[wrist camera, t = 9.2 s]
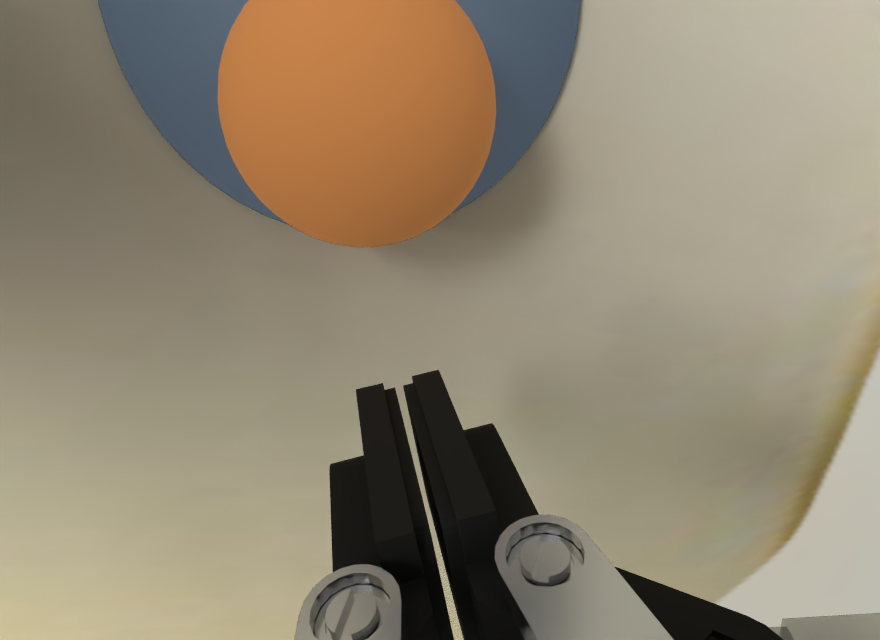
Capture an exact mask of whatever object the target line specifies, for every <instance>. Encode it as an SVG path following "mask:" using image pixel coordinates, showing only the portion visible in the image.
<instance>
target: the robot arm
mask: <svg viewBox="0 0 880 640" xmlns="http://www.w3.org/2000/svg"><path fill="white" fill-rule="evenodd" d="M412 380H413V383H412V384H408V385H404V386H403V387H404V392H405V396H406V401H407V406H408V411H409V415H410V420H411V425H412V429H413V434H414V439H415V443H416V448H417V453H418V457H419V462H420V467H421V471H422V476H423V481H424V485H425V490H426V494H427V499H428V503H429V507H430V511H431V514H432V518H433V522H434V526H435V530H436V534H437V538H438V541H439V545H440V549H441V553H442V557H443V561H444V565H445V569H446V572H447V576H448V580H449V584H450V588H451V592H452V596H453V599H454V603H455V607H456V611H457V615H458V619H459V623H460V627H461V630H462V634H463V638H464V640H880V613H872V614H855V615H838V616H821V617H806V618H805V617H804V618H788V619H782V624H781V627H769V628H768V627H767V626H766V625H764V624H762V623H760V622H758V621H756V620H754V619H752V618H750V617H748V616H746V615H743V614H740V613H738V612H735V611H732V610H730V609H727V608H724V607H721V606H719V605H716V604H714V603H711V602H708V601H706V600H703V599H700V598H698V597H695V596H692V595H689V594H687V593H684V592H681V591H679V590H676V589H673V588H671V587H668V586H665V585H663V584H660V583H657V582H655V581H652V580H649V579H647V578H644V577H641V576H638V575H636V574H633V573H630V572H628V571H625V570H622V569H620V568H617V567H614V566H613V565H612V563H611V562H610V561H609V560H608V559H607V557H606V556H605V555H604V554H603V552H602V551H601V550H600V549H599V548H598V546H597V545H596V544H595V543H594V541H593V540H592V539H591V538H590V536H589V535H588V534H587V533H586V532H585V531H584V530H583V529H581V528H580V527H579V526H578V525H577V524H575V523H573V522H571V521H569V520H567V519H565V518H562V517H557V516H553V515H539V514H538V512H537V510H536V508H535V506H534V504H533V502H532V500H531V498H530V496H529V494H528V492H527V490H526V488H525V486H524V484H523V482H522V480H521V478H520V476H519V474H518V472H517V470H516V468H515V466H514V464H513V462H512V460H511V458H510V456H509V454H508V452H507V450H506V448H505V446H504V444H503V442H502V440H501V438H500V436H499V434H498V432H497V430H496V428H495V427H494V425H493V424H492V423H491V424H487V425H483V426H479V427H475V428H471V429H467V430H463V429H462V426H461V424H460V421H459V419H458V416H457V414H456V411H455V409H454V406H453V404H452V402H451V399H450V397H449V394H448V392H447V389H446V387H445V384H444V382H443V379H442V377H441V375H440V372H439V370H436V371H432V372H427V373H423V374H419V375H415V376H412ZM356 394H357V402H358V411H359V419H360V427H361V435H362V443H363V451H364V456H360V457H356V458H352V459H348V460H344V461H340V462H336V463H332V464H331V465H330V498H331V529H332V559H333V573H331V574H329V575H327V576H326V577H324V578H323V579H322V580H321V581H320V582H319V583H318V584H317V585H315V586H314V587H313V589H312V590H311V591H310V593H309V594H308V596H307V597H306V599H305V600H304V602H303V605H302V608H301V611H300V614H299V617H298V622H297V627H296V633H295V638H294V640H454V638H453V633H452V629H451V624H450V620H449V615H448V611H447V606H446V601H445V597H444V592H443V588H442V583H441V578H440V574H439V569H438V565H437V560H436V556H435V551H434V546H433V542H432V537H431V533H430V529H429V524H428V520H427V516H426V512H425V508H424V504H423V500H422V496H421V492H420V488H419V484H418V479H417V475H416V471H415V467H414V463H413V459H412V455H411V451H410V447H409V443H408V439H407V435H406V431H405V427H404V423H403V419H402V415H401V411H400V406H399V402H398V398H397V394H396V390H395V388H391V389H387V390H384V386H383V383H381V384H377V385H373V386H369V387H364V388H360V389H356Z"/></svg>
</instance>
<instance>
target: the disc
mask: <svg viewBox="0 0 880 640" xmlns="http://www.w3.org/2000/svg"><path fill="white" fill-rule="evenodd" d="M248 1H249V0H98V2H99V7H100V10H101V13H102V17H103V20H104V23H105V27H106V30H107V33H108V37H109V40H110V43H111V45H112V48H113V50H114V52H115V55H116V57H117V59H118V62H119V64H120V66H121V69H122V71H123V73H124V76H125V78H126V79H127V81H128V83H129V85H130V87H131V88H132V90H133V92H134V94H135V95H136V97H137V99H138V101H139V102H140V104H141V106H142V108H143V109H144V110H145V112H146V113H147V115H148V116H149V117H150V119H151V120H152V122H153V123H154V124H155V126H156V127H157V128H158V130H159V131H160V133H161V134H162V135H163V137H164V138H165V139H166V140H167V141H168V142H169V143H170V144H171V145H172V146H173V148H174V149H175V150H176V151H177V152H178V153H179V154H180V155H181V156H182V157H183V159H184V160H185V161H186V162H187V163H189V164H190V165H191V166H192V167H193V168H194V169H195V170H197V171H198V172H199V173H200V174H201V175H202V176H203V177H205V178H206V179H207V180H208V181H209V182H210V183H212V184H213V185H215V186H216V187H218V188H219V189H220V190H222V191H223V192H225V193H226V194H228V195H229V196H231V197H232V198H233V199H235V200H236V201H238V202H240V203H242V204H244V205H246V206H248V207H250V208H251V209H253V210H255V211H257V212H259V213H261V214H263V215H265V216H268V217H270V218H273V219H276V220H278V221H281V222H283V223H286V222H285V221H283V220H282V219H281V218H279V217H278V216H276V215H275V214H274V213H273V212H272V211H271V210H270V209H268V208H267V207H266V206H265V205H264V204H263V203H262V202H261V201H260V200H259V199H258V197H257V196H256V195H255V194H254V193H253V191H252V190H251V189H250V188H249V186H248V185H247V184H246V182H245V181H244V179H243V177H242V176H241V174H240V172H239V170H238V169H237V167H236V165H235V163H234V162H233V159H232V157H231V155H230V152H229V150H228V147H227V145H226V142H225V138H224V134H223V130H222V126H221V122H220V118H219V109H218V101H217V100H218V72H219V67H220V62H221V56H222V53H223V49H224V46H225V43H226V40H227V38H228V35H229V32H230V30H231V28H232V26H233V24H234V22H235V20H236V19H237V17H238V15H239V14H240V12H241V10H242V9H243V7H244V5H245V4H246V3H247V2H248ZM580 1H581V0H456V2H457V3H458V4H459V5H460V6H461V8H462V9H463V10H464V12H465V13H466V14H467V16H468V17H469V18H470V20H471V22H472V23H473V25H474V27H475V29H476V31H477V33H478V35H479V36H480V38H481V40H482V42H483V44H484V47H485V50H486V53H487V56H488V59H489V62H490V65H491V69H492V73H493V79H494V84H495V96H496V120H495V130H494V135H493V139H492V143H491V148H490V152H489V155H488V158H487V160H486V163H485V165H484V168H483V170H482V172H481V174H480V176H479V177H478V179H477V181H476V183H475V185H474V186H473V188H472V190H471V191H470V192H469V193H468V195H467V196H466V197H465V199H464V200H463V201H462V202H461V204H460V205H459V206H458V207H457V208H456V209H455V210H454V211H456V210H458V209H460V208H462V207H463V206H465V205H467V204H469V203H470V202H472V201H473V200H475V199H476V198H477V197H479V196H480V195H481V194H483V193H484V192H485V191H487V190H488V189H489V188H491V187H492V186H493V185H494V184H495V183H496V182H497V181H499V180H500V179H501V178H502V177H503V176H504V175H505V174H506V173H507V172H508V171H509V170H510V169H511V168H512V167H513V166H514V165H515V163H516V162H517V161H518V160H519V159H520V157H521V156H522V155H523V154H524V152H525V151H526V150H527V149H528V148H529V146H530V145H531V144H532V142H533V140H534V139H535V137H536V136H537V134H538V133H539V131H540V129H541V128H542V126H543V125H544V123H545V122H546V120H547V118H548V116H549V114H550V112H551V110H552V107H553V105H554V103H555V101H556V99H557V97H558V95H559V93H560V90H561V87H562V84H563V81H564V79H565V76H566V73H567V70H568V67H569V64H570V60H571V56H572V51H573V47H574V43H575V38H576V34H577V26H578V18H579V10H580ZM454 211H453V212H454ZM453 212H452V213H453ZM286 224H288V223H286Z"/></svg>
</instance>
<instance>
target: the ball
mask: <svg viewBox="0 0 880 640" xmlns="http://www.w3.org/2000/svg"><path fill="white" fill-rule="evenodd" d="M217 101H218V109H219V118H220V122H221V126H222V130H223V134H224V138H225V142H226V145H227V147H228V150H229V152H230V155H231V157H232V159H233V162H234V163H235V165H236V167H237V169H238V170H239V172H240V174H241V176H242V177H243V179H244V181H245V182H246V184H247V185H248V186H249V188H250V189H251V190H252V191H253V193H254V194H255V195H256V196H257V197H258V199H259V200H260V201H261V202H262V203H263V204H264V205H265V206H266V207H267V208H268V209H270V210H271V211H272V212H273V213H274V214H275V215H276V216H278V217H279V218H281V219H282V220H283V221H285V222H286V223H288V224H289V225H290V226H292V227H294V228H296V229H298V230H300V231H301V232H303V233H305V234H307V235H309V236H311V237H314V238H317V239H320V240H323V241H326V242H329V243H333V244H337V245H344V246H352V247H378V246H385V245H390V244H394V243H398V242H401V241H405V240H408V239H411V238H413V237H415V236H417V235H419V234H421V233H423V232H425V231H427V230H429V229H431V228H432V227H434V226H435V225H437V224H438V223H439V222H441V221H442V220H444V219H445V218H446V217H447V216H449V215H450V214H451V213H452V212H453V211H454V210H455V209H456V208H457V207H458V206H459V205H460V204H461V202H462V201H463V200H464V199H465V197H466V196H467V195H468V193H469V192H470V191H471V190H472V188H473V186H474V185H475V183H476V181H477V179H478V177H479V176H480V174H481V172H482V170H483V168H484V165H485V163H486V160H487V158H488V155H489V152H490V148H491V143H492V139H493V135H494V130H495V120H496V96H495V84H494V79H493V73H492V69H491V65H490V62H489V59H488V56H487V53H486V50H485V47H484V44H483V42H482V40H481V38H480V36H479V35H478V33H477V31H476V29H475V27H474V25H473V23H472V22H471V20H470V18H469V17H468V16H467V14H466V13H465V12H464V10H463V9H462V8H461V6H460V5H459V4H458V3H457V2H456V0H249V1H248V2H247V3H246V4H245V5H244V7H243V9H242V10H241V12H240V14H239V15H238V17H237V19H236V20H235V22H234V24H233V26H232V28H231V30H230V32H229V35H228V38H227V40H226V43H225V46H224V49H223V53H222V56H221V62H220V67H219V72H218V100H217Z"/></svg>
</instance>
